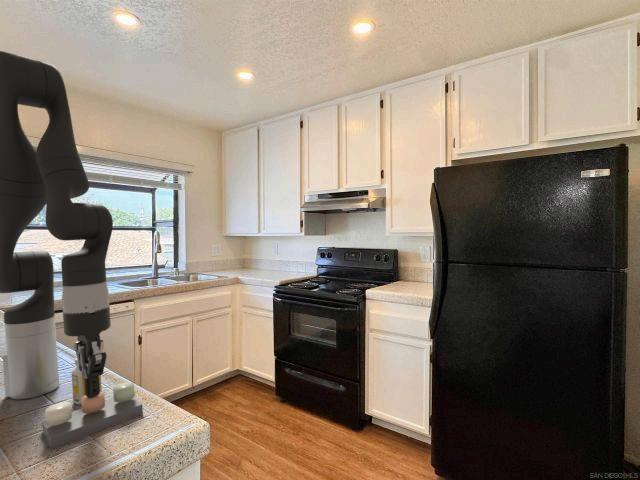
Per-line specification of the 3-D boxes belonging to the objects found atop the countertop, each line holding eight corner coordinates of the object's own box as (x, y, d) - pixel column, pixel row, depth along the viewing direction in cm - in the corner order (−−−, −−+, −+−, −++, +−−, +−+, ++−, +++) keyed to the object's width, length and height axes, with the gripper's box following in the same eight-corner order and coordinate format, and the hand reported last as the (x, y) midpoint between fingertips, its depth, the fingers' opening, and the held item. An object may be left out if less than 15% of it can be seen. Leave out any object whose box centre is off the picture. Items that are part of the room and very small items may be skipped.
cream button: (40, 426, 63) (40, 413, 63) (56, 414, 67) (56, 402, 67) (62, 425, 63) (61, 412, 63) (76, 414, 67) (76, 401, 67)
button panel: (51, 449, 61) (50, 438, 61) (42, 432, 67) (42, 421, 67) (142, 413, 72) (142, 404, 72) (128, 401, 77) (128, 392, 77)
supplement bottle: (68, 406, 76) (65, 362, 76) (82, 394, 82) (79, 353, 81) (94, 404, 77) (91, 360, 77) (106, 392, 82) (104, 351, 82)
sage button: (109, 402, 71) (109, 390, 71) (120, 393, 75) (119, 382, 75) (128, 401, 71) (127, 390, 71) (138, 392, 75) (137, 381, 75)
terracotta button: (77, 413, 67) (76, 401, 67) (90, 403, 71) (89, 391, 71) (97, 413, 67) (96, 400, 67) (109, 402, 71) (108, 391, 71)
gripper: (55, 306, 70) (61, 392, 71) (71, 315, 61) (78, 414, 62) (99, 299, 76) (104, 379, 76) (119, 307, 66) (125, 398, 67)
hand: (92, 395), depth 69 cm, fingers closed
